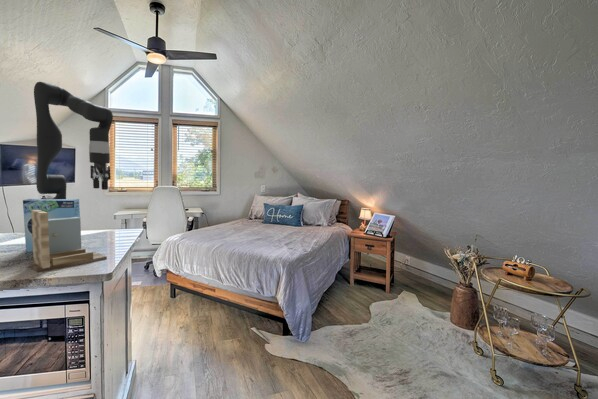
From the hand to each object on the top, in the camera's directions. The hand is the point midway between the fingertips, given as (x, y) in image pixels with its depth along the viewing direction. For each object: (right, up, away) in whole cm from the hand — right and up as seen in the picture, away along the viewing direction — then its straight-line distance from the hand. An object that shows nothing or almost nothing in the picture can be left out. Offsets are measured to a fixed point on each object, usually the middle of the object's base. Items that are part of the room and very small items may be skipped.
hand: (100, 189), depth 133 cm
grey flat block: (-11, -29, -8) cm, 31 cm away
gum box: (-22, -28, +1) cm, 35 cm away
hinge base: (-2, -30, -15) cm, 33 cm away
